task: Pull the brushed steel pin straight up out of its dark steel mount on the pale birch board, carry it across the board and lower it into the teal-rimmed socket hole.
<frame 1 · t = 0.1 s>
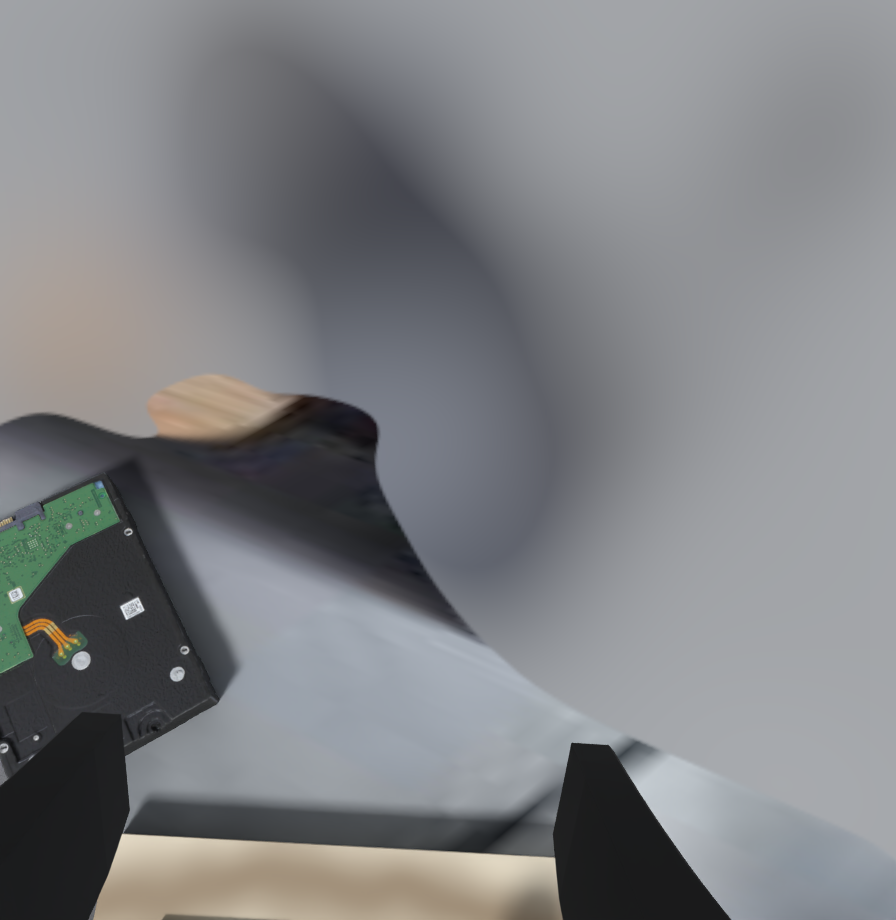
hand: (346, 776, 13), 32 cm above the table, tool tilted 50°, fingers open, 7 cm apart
disk drive: (82, 635, 45), on the table
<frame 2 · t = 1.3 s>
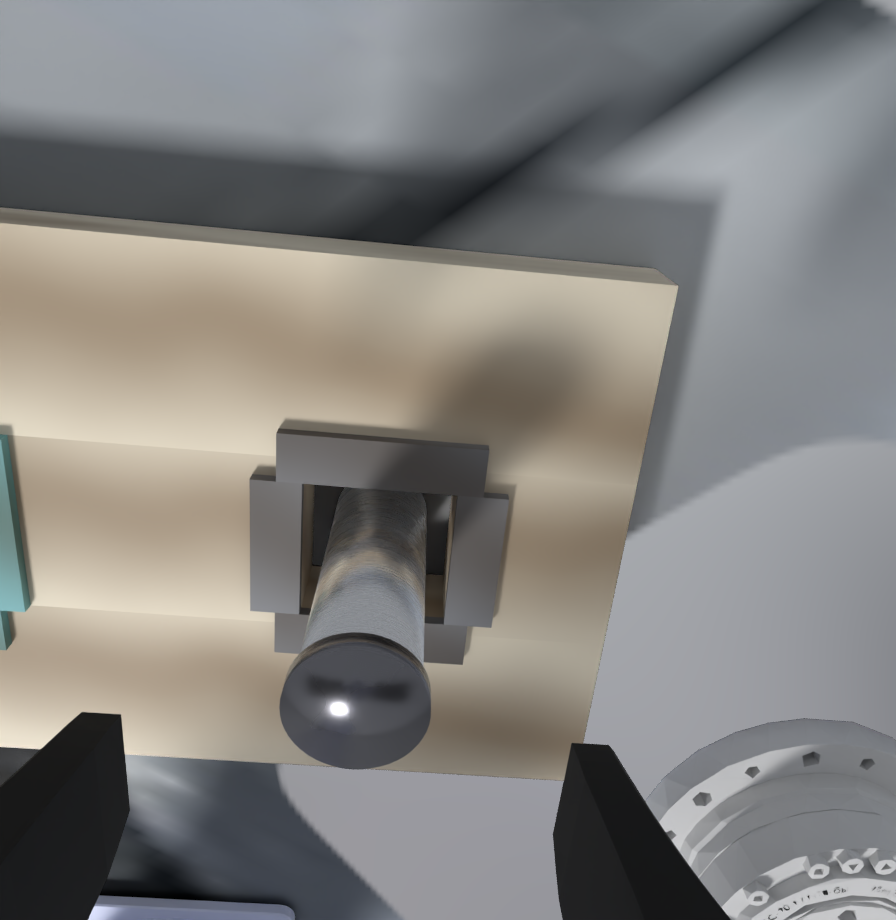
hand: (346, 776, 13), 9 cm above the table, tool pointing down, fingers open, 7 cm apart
dock board: (153, 495, 21), on the table
steel pin: (381, 512, 21), resting in dock board
mechanical component: (776, 824, 27), on the table
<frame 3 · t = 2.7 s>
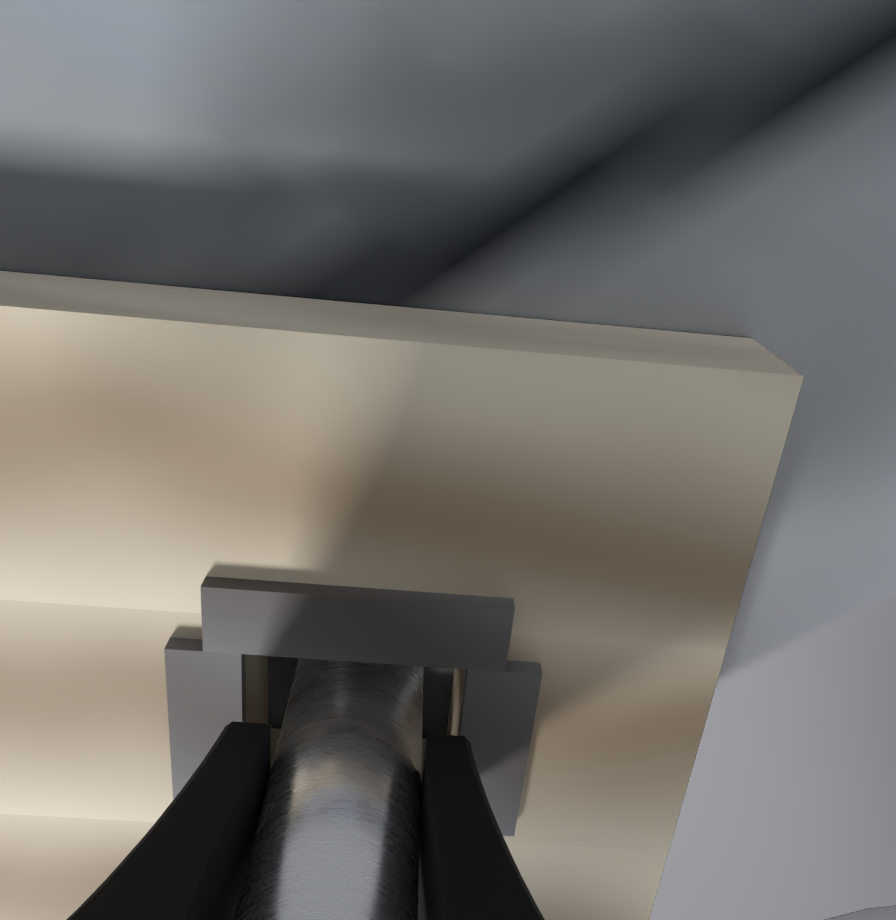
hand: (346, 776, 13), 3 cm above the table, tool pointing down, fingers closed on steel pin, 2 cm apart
dock board: (46, 640, 15), on the table
steel pin: (362, 661, 16), resting in dock board, touching gripper
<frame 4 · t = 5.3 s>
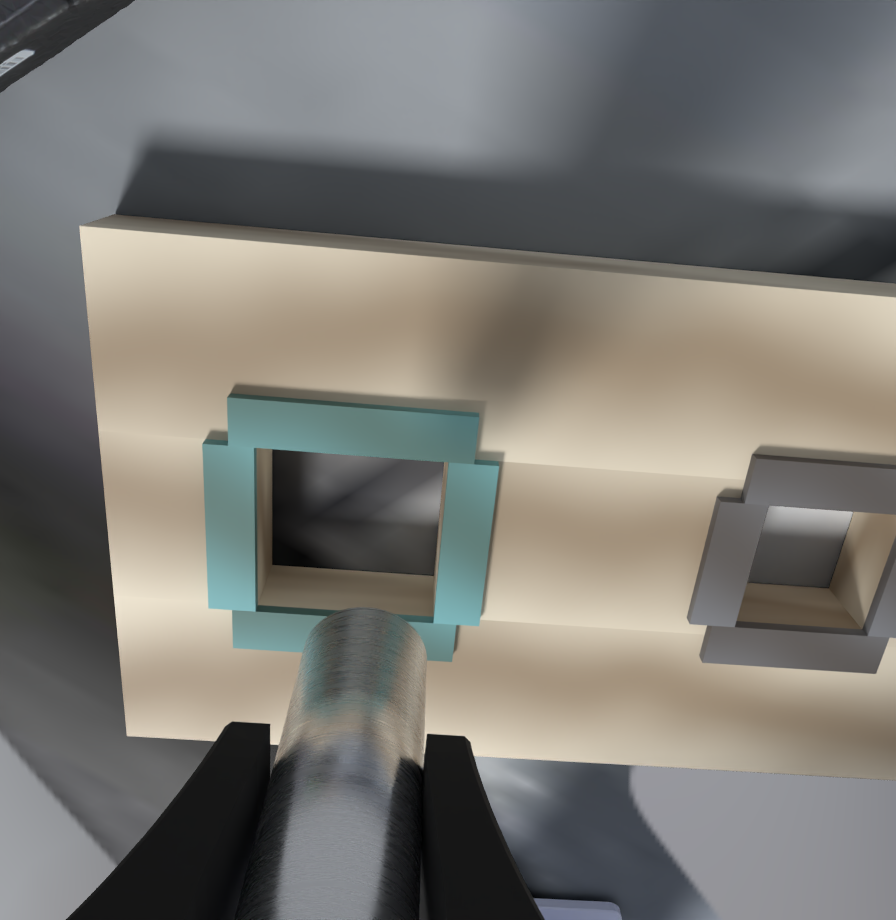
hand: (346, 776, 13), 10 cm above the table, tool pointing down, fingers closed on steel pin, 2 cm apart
dock board: (573, 514, 22), on the table
steel pin: (365, 659, 16), point 7 cm above the table, touching gripper
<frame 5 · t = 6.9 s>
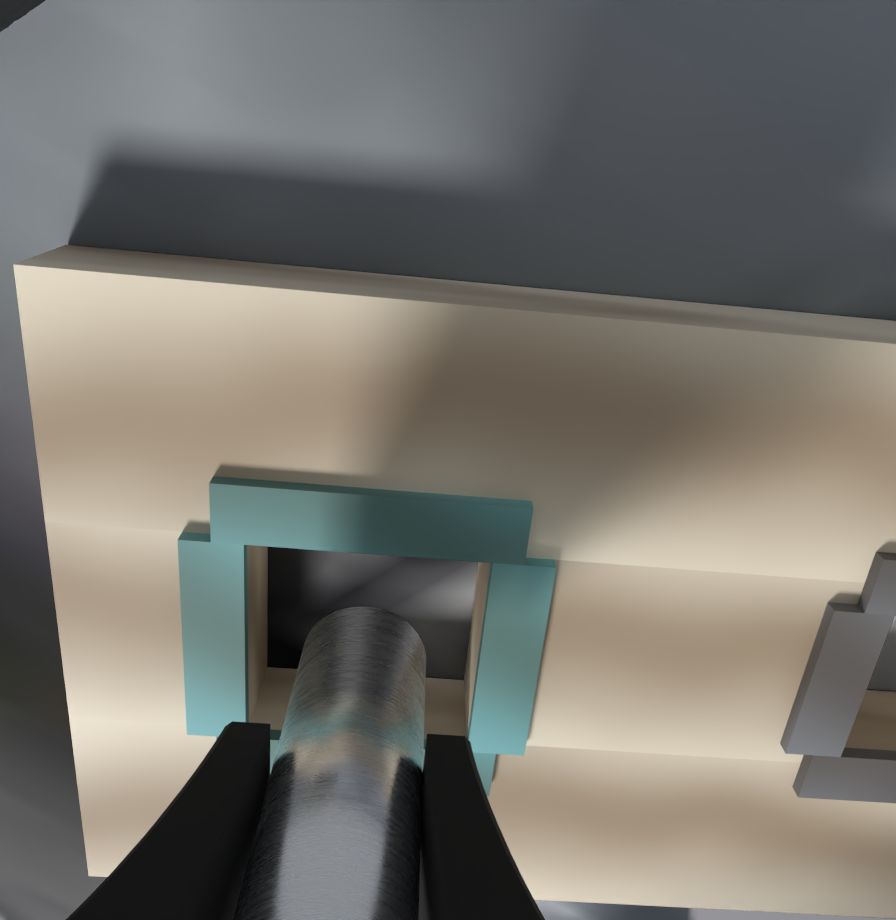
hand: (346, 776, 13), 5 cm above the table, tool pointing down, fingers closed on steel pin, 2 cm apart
dock board: (636, 609, 18), on the table
steel pin: (364, 658, 16), point 2 cm above the table, touching gripper
when the fingers open (3 cm above the table, at t = 8.0 s): steel pin stays where it is, resting in dock board.
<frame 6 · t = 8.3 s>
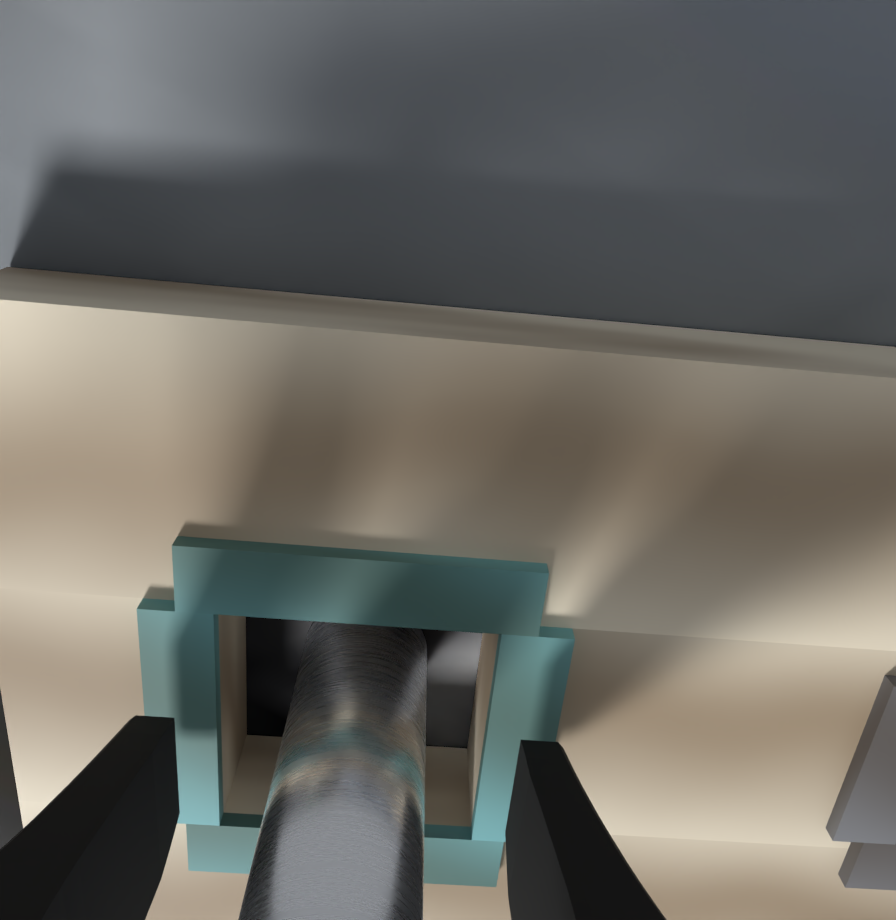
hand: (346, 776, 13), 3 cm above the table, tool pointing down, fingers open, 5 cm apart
dock board: (661, 672, 16), on the table
steel pin: (366, 649, 16), resting in dock board
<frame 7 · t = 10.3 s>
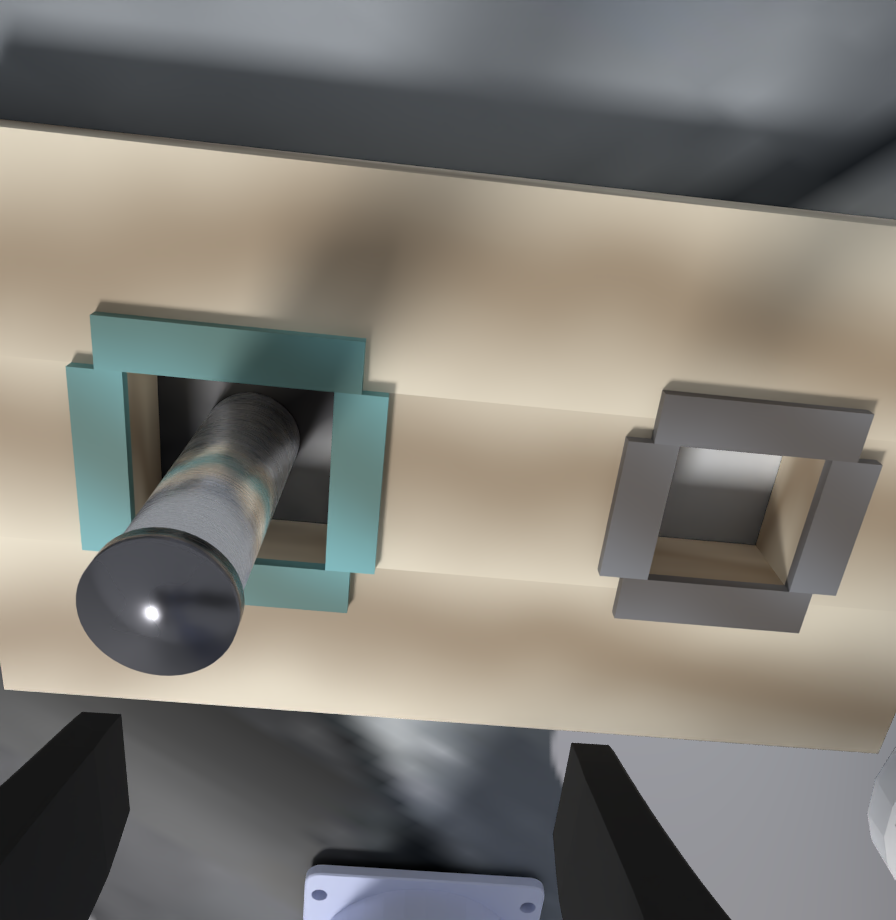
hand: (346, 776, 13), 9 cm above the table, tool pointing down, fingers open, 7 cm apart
dock board: (482, 459, 21), on the table
steel pin: (252, 436, 21), resting in dock board
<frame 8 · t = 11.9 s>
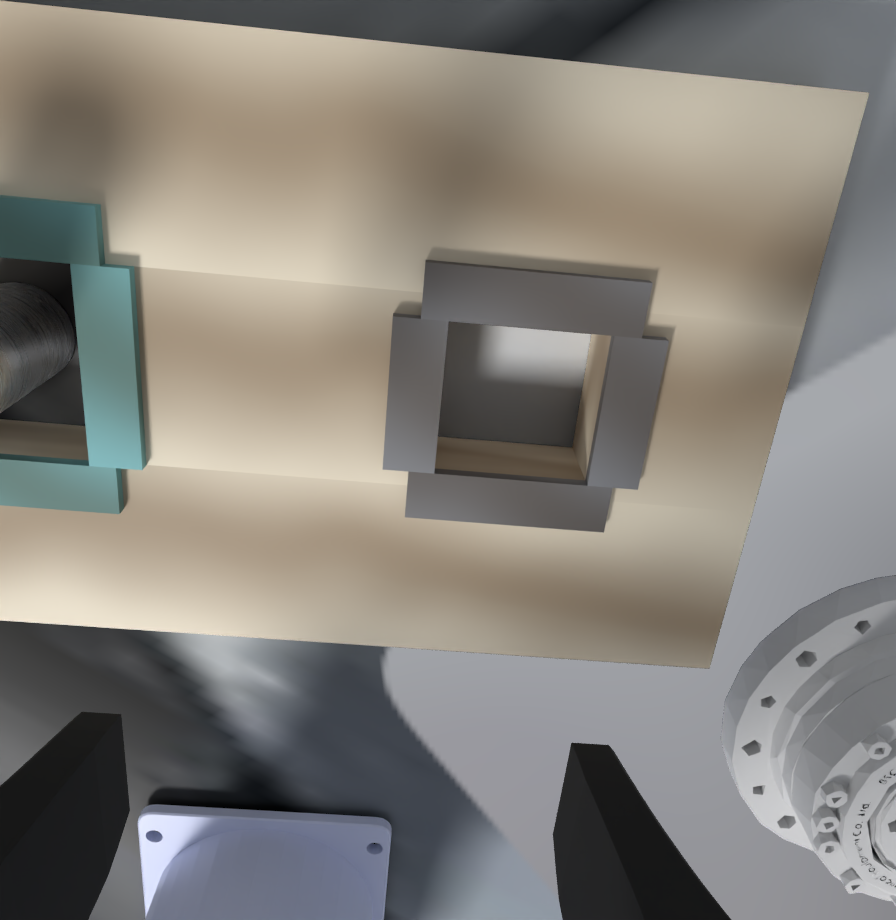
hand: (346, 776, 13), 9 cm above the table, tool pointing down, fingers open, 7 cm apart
dock board: (271, 354, 20), on the table
steel pin: (24, 331, 19), resting in dock board
mechanical component: (875, 700, 25), on the table
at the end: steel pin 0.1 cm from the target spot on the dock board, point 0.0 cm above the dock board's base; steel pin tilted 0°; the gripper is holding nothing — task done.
